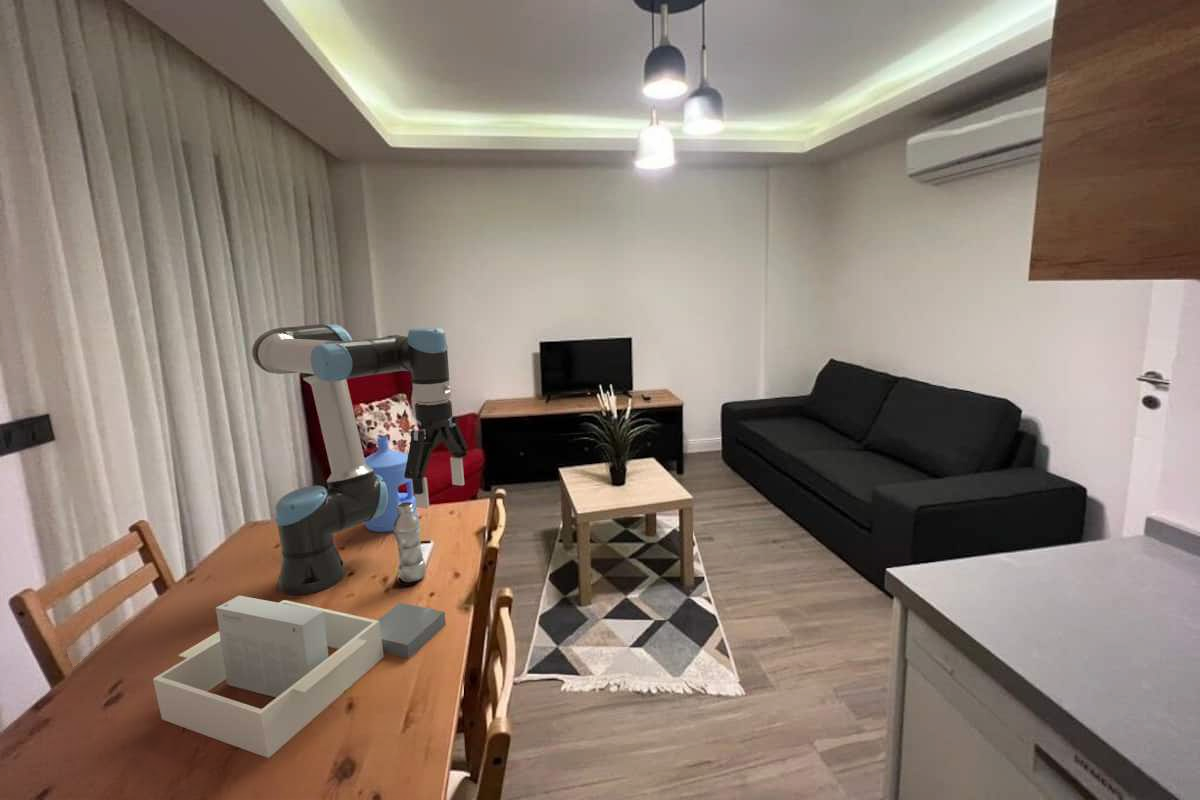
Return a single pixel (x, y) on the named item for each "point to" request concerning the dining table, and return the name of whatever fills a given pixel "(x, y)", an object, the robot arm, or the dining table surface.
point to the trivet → (409, 628)
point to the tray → (286, 714)
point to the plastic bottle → (409, 543)
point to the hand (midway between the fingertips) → (441, 495)
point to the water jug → (390, 484)
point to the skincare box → (269, 643)
